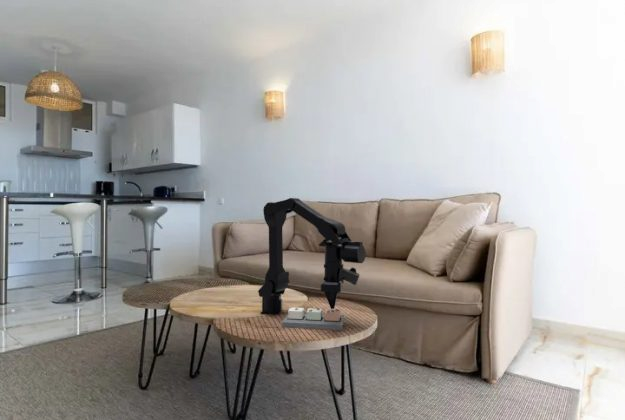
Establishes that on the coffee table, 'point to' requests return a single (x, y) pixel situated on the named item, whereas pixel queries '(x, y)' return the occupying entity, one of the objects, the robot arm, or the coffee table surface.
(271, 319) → the coffee table surface
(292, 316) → the tile one
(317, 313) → the tile two
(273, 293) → the robot arm
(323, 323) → the board
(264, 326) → the coffee table surface
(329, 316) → the tile three
